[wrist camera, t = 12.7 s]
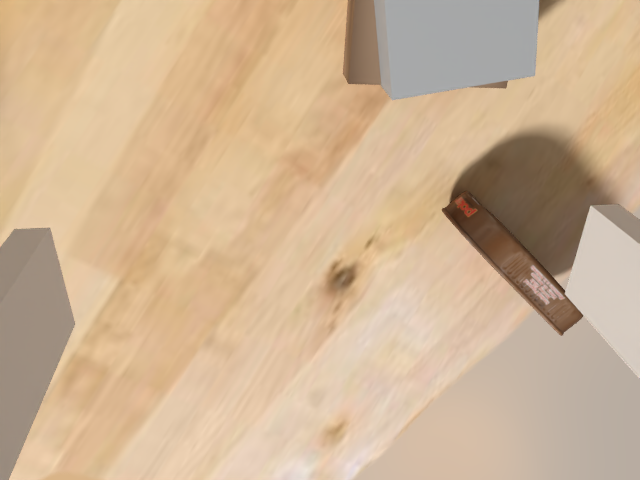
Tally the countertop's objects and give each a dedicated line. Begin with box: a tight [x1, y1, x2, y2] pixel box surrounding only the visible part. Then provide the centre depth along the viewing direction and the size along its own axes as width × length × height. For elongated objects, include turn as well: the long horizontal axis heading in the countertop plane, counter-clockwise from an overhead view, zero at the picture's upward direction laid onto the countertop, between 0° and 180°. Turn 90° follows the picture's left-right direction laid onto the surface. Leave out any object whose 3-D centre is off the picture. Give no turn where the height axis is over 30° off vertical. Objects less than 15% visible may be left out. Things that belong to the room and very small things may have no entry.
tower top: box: [374, 0, 539, 100], centre depth 33 cm, size 9×9×4 cm
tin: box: [442, 191, 584, 336], centre depth 43 cm, size 15×3×8 cm, turn 44°
